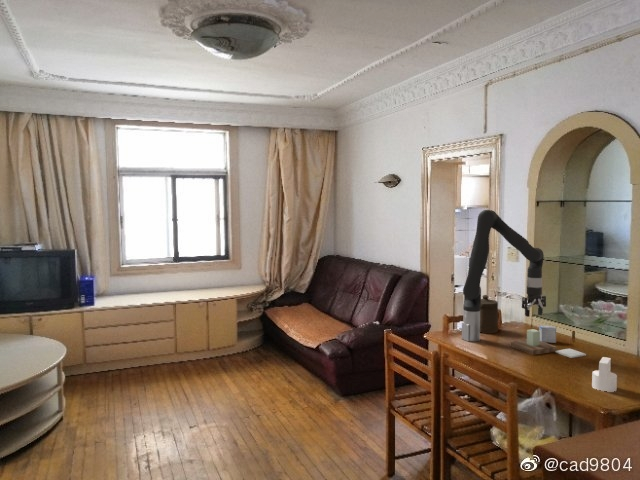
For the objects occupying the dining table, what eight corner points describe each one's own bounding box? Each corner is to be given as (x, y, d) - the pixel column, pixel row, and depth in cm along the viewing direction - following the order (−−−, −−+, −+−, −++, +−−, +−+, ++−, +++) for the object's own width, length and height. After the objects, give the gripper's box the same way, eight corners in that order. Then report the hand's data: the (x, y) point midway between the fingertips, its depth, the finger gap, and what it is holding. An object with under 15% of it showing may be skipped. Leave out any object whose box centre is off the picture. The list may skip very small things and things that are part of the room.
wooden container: (485, 326, 304) (485, 292, 303) (503, 331, 291) (503, 296, 289) (467, 329, 298) (467, 294, 296) (484, 334, 285) (485, 298, 283)
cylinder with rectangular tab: (594, 382, 209) (594, 355, 208) (618, 387, 203) (619, 359, 202) (590, 388, 202) (590, 361, 201) (614, 393, 196) (615, 365, 195)
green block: (532, 350, 254) (533, 332, 253) (526, 348, 258) (526, 330, 257) (539, 349, 255) (539, 331, 255) (533, 347, 260) (533, 329, 259)
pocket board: (532, 355, 246) (532, 350, 246) (510, 346, 261) (510, 341, 261) (556, 351, 252) (556, 346, 252) (533, 343, 267) (533, 338, 267)
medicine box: (553, 340, 271) (553, 325, 270) (556, 343, 266) (556, 327, 266) (538, 340, 272) (538, 325, 271) (541, 342, 267) (541, 327, 266)
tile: (571, 358, 241) (571, 356, 241) (555, 352, 250) (555, 350, 250) (585, 355, 244) (586, 354, 244) (569, 349, 254) (569, 348, 254)
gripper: (539, 283, 260) (538, 312, 261) (518, 285, 255) (517, 315, 256) (550, 285, 253) (549, 316, 254) (529, 287, 248) (528, 318, 249)
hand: (533, 315), depth 255 cm, fingers open, 8 cm apart
